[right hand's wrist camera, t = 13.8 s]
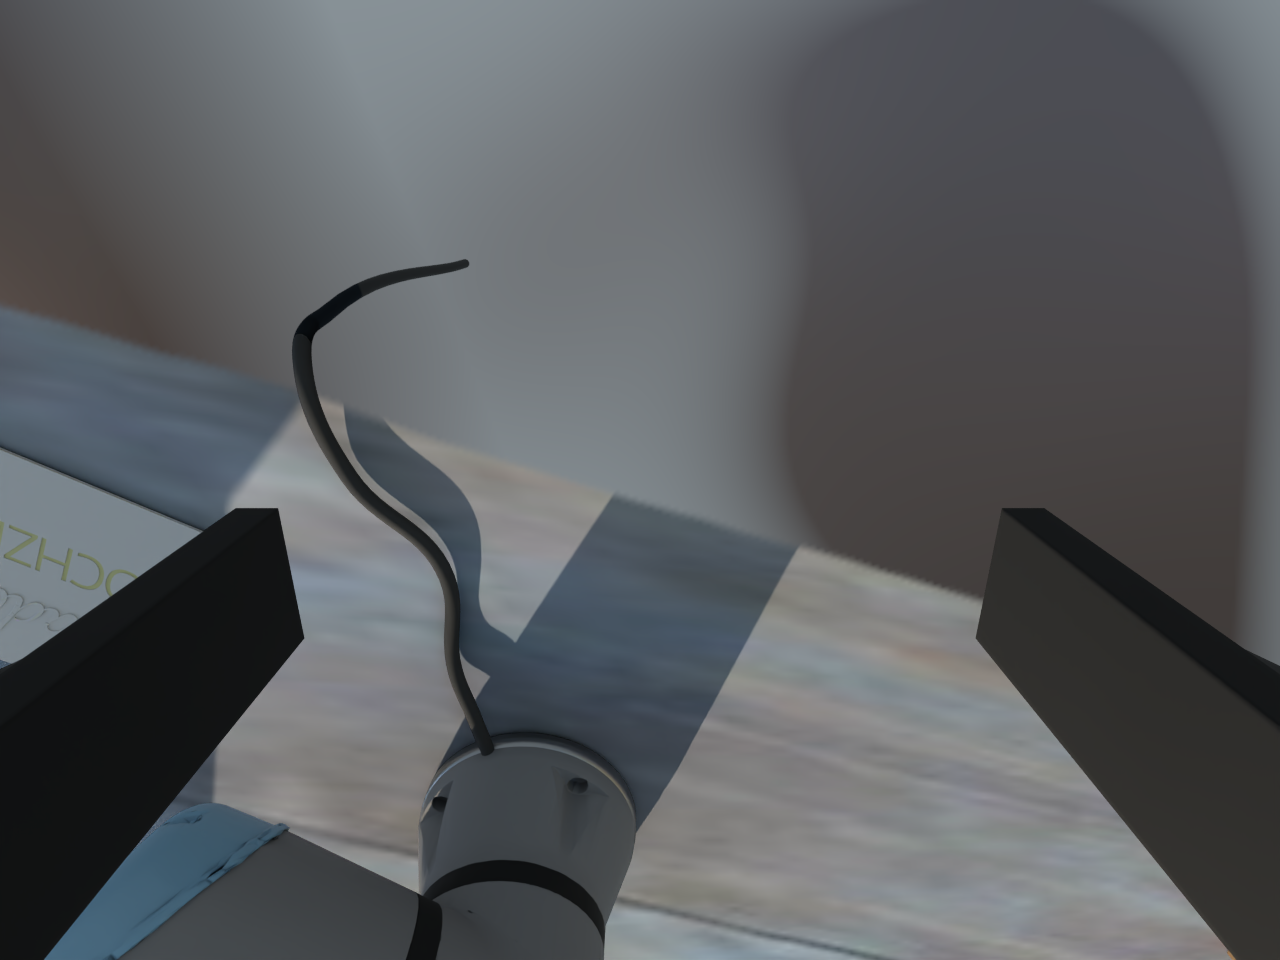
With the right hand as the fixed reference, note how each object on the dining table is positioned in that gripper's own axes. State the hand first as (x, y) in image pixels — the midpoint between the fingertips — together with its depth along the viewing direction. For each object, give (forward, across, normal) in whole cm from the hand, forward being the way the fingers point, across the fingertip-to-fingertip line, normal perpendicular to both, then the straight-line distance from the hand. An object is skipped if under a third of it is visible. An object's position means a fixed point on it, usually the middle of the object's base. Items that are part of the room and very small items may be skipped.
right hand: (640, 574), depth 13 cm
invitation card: (+27, -37, -15) cm, 48 cm away
